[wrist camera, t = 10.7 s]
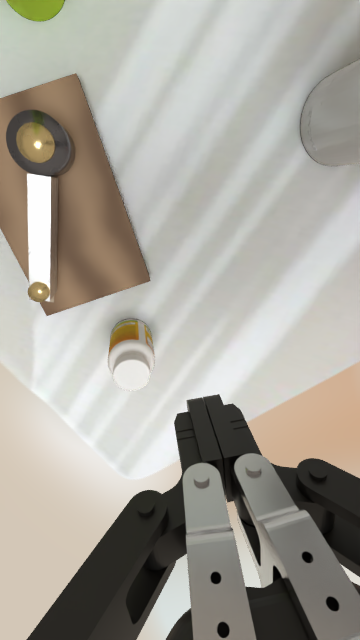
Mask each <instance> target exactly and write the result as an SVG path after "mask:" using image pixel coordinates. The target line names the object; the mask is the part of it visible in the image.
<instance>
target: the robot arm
mask: <svg viewBox="0 0 360 640" xmlns="http://www.w3.org/2000/svg"><path fill="white" fill-rule="evenodd" d="M300 125H301V137H302V142H303V144H304V147H305V149H306V151H307V152H308V154H309V155H310V156H311V157H312V158H313V159H314V160H315V161H317V162H318V163H320V164H323V165H327V166H340V165H352V164H360V59H359V60H357V61H355V62H353V63H351V64H349V65H347V66H346V67H344V68H342V69H340V70H338V71H337V72H335V73H333V74H331V75H329V76H328V77H326V78H325V79H323V80H322V81H321V82H320V83H319V84H318V85H317V86H316V87H315V88H314V89H313V91H312V92H311V93H310V95H309V97H308V99H307V101H306V103H305V106H304V109H303V112H302V117H301V124H300ZM187 408H188V412H184V413H179V414H177V416H176V419H175V422H174V424H175V431H176V437H177V444H178V450H179V456H180V462H181V468H182V476H181V479H180V480H179V482H178V483H177V485H176V486H174V487H173V488H172V489H170V490H169V491H167V492H165V493H163V494H161V493H159V492H157V491H153V490H147V491H142V492H140V493H138V494H136V495H135V496H134V497H133V498H132V499H131V500H130V501H129V503H128V504H127V506H126V507H125V508H124V509H123V511H122V512H121V513H120V515H119V516H118V518H117V519H116V520H115V522H114V523H113V524H112V526H111V527H110V528H109V530H108V531H107V532H106V534H105V535H104V536H103V538H102V539H101V540H100V542H99V543H98V544H97V546H96V547H95V548H94V550H93V551H92V552H91V554H90V555H89V557H88V558H87V559H86V561H85V562H84V563H83V565H82V566H81V567H80V569H79V570H78V572H77V573H76V574H75V575H74V577H73V578H72V579H71V581H70V582H69V583H68V585H67V586H66V588H65V589H64V590H63V592H62V593H61V594H60V596H59V597H58V598H57V600H56V601H55V602H54V604H53V605H52V606H51V608H50V609H49V610H48V612H47V613H46V614H45V616H44V617H43V618H42V620H41V621H40V623H39V624H38V625H37V627H36V628H35V630H34V631H33V632H32V633H31V635H30V636H29V637H28V639H27V640H136V639H137V637H138V635H139V633H140V632H141V630H142V628H143V626H144V624H145V622H146V620H147V618H148V616H149V614H150V612H151V610H152V608H153V607H154V604H155V603H156V600H157V599H158V597H159V595H160V593H161V591H162V589H163V587H164V585H165V583H166V582H167V580H168V577H169V576H170V574H171V572H172V570H173V568H174V566H175V563H176V560H178V559H179V558H180V557H182V556H184V555H185V554H187V560H188V573H189V586H190V599H191V608H190V609H189V610H188V611H187V612H185V613H184V614H183V615H182V617H181V618H180V619H179V620H178V621H177V622H176V624H175V625H174V627H173V628H172V629H171V631H170V633H169V635H168V636H167V638H166V640H360V586H359V585H357V584H355V583H353V582H351V581H350V579H349V578H348V576H347V574H346V573H345V571H344V569H343V568H342V566H341V565H343V566H344V567H346V568H347V569H349V570H350V571H352V572H353V573H355V574H356V575H357V576H359V577H360V478H358V477H355V476H353V475H351V474H349V473H347V472H345V471H343V470H341V469H339V468H337V467H335V466H333V465H331V464H329V463H327V462H325V461H323V460H320V459H314V458H311V459H306V460H303V461H302V462H300V463H299V465H298V467H297V468H289V467H280V466H277V465H274V464H272V463H270V462H269V460H267V459H266V458H265V457H263V456H262V454H261V452H260V450H259V448H258V446H257V444H256V442H255V440H254V438H253V435H252V433H251V431H250V429H249V428H248V425H247V423H246V421H245V418H244V416H243V414H242V412H241V410H240V409H239V408H237V407H236V406H235V405H234V404H228V405H223V402H222V400H221V397H220V395H219V394H218V395H213V396H207V397H203V398H196V399H191V400H187ZM225 495H226V499H227V502H230V501H234V502H235V506H236V508H237V518H238V523H239V525H240V528H241V530H242V533H243V535H244V538H245V540H246V543H247V546H248V548H249V551H250V553H251V556H252V558H253V561H254V563H255V566H256V568H257V571H258V574H259V578H260V581H261V586H262V588H254V587H245V583H244V578H243V574H242V569H241V564H240V559H239V555H238V550H237V545H236V540H235V536H234V532H233V529H232V528H231V525H230V520H229V516H228V510H227V506H226V499H225ZM340 564H341V565H340Z"/></svg>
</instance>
